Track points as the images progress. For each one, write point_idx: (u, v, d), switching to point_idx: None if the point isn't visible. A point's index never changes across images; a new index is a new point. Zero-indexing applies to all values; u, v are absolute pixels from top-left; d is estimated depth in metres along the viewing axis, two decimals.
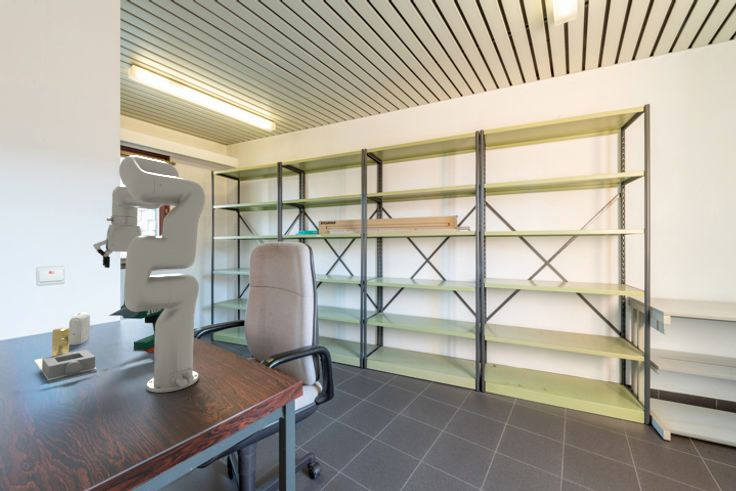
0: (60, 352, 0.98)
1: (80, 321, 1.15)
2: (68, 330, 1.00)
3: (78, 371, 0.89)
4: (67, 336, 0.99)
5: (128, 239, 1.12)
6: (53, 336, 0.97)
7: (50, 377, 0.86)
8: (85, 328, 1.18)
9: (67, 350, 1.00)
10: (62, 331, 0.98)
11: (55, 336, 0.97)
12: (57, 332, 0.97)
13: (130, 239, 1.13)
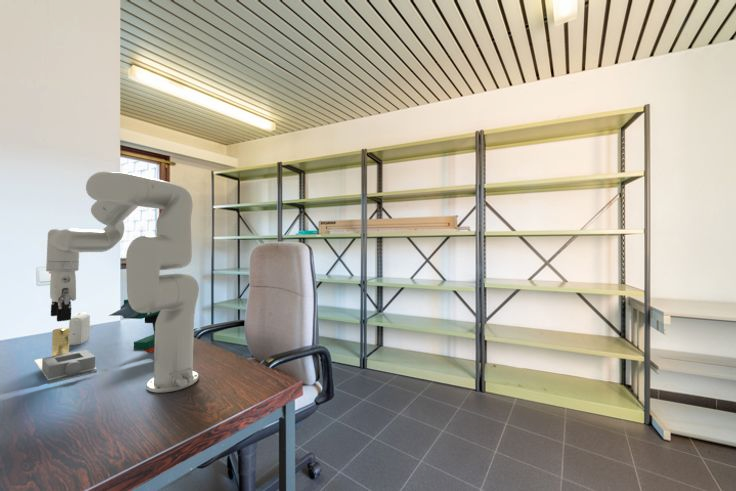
0: (60, 352, 0.98)
1: (80, 321, 1.15)
2: (68, 330, 1.00)
3: (78, 371, 0.89)
4: (67, 336, 0.99)
5: None
6: (53, 336, 0.97)
7: (50, 377, 0.86)
8: (85, 328, 1.18)
9: (67, 350, 1.00)
10: (62, 331, 0.98)
11: (55, 336, 0.97)
12: (57, 332, 0.97)
13: None
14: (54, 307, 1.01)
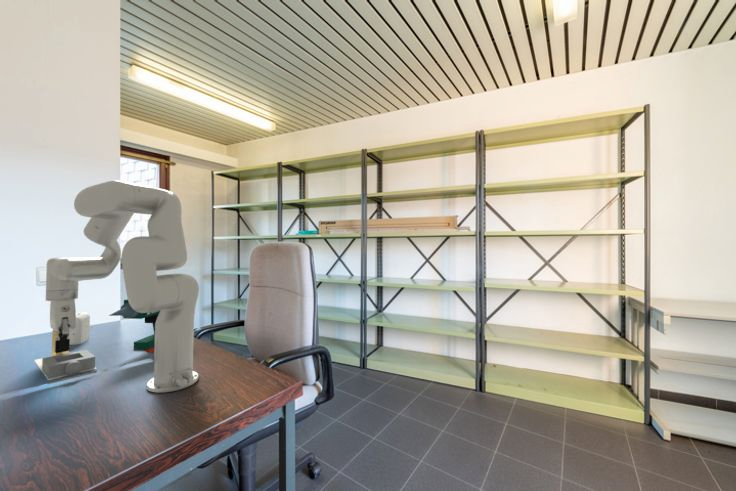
0: (60, 352, 0.98)
1: (80, 321, 1.15)
2: None
3: (78, 371, 0.89)
4: None
5: None
6: (53, 336, 0.97)
7: (50, 377, 0.86)
8: (85, 328, 1.18)
9: None
10: None
11: (55, 336, 0.97)
12: None
13: None
14: None
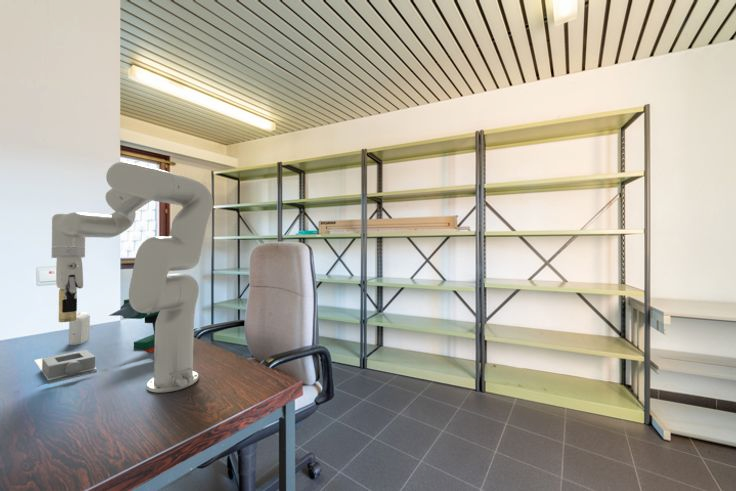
0: (67, 312, 0.94)
1: (80, 321, 1.15)
2: None
3: (78, 371, 0.89)
4: None
5: None
6: (60, 295, 0.93)
7: (50, 377, 0.86)
8: (85, 328, 1.18)
9: (74, 311, 0.95)
10: None
11: (62, 295, 0.93)
12: None
13: None
14: None
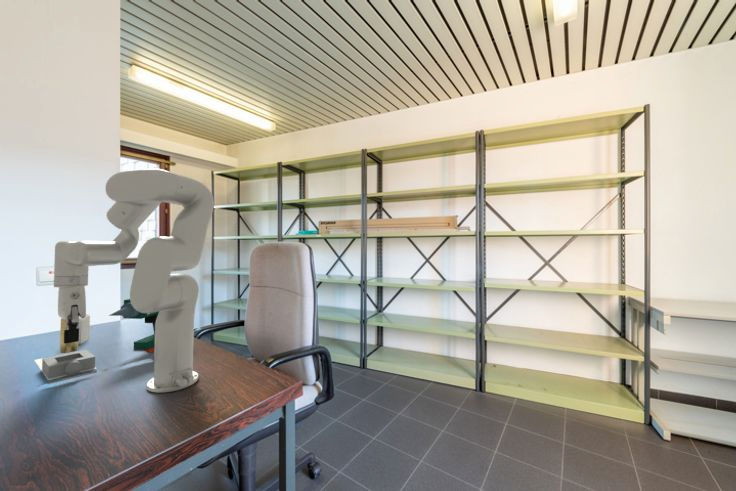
0: None
1: (80, 321, 1.15)
2: None
3: (78, 371, 0.89)
4: None
5: None
6: (61, 325, 0.90)
7: (50, 377, 0.86)
8: (85, 328, 1.18)
9: None
10: None
11: (63, 325, 0.90)
12: None
13: None
14: None
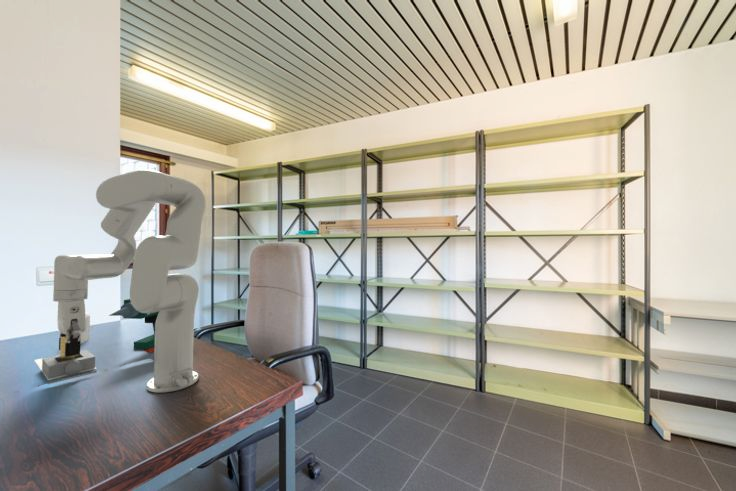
0: None
1: None
2: None
3: (78, 371, 0.89)
4: None
5: None
6: (61, 344, 0.90)
7: (50, 377, 0.86)
8: None
9: None
10: None
11: (63, 344, 0.90)
12: (66, 339, 0.90)
13: None
14: None
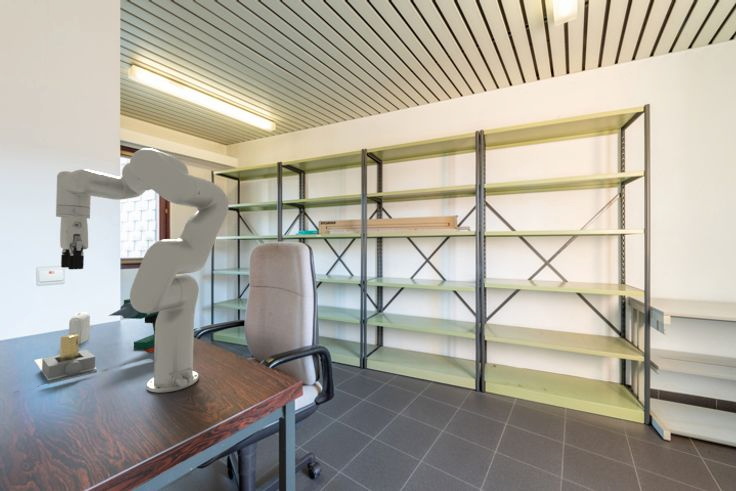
0: None
1: (80, 321, 1.15)
2: (77, 337, 0.93)
3: (78, 371, 0.89)
4: (76, 344, 0.92)
5: None
6: (61, 344, 0.90)
7: (50, 377, 0.86)
8: (85, 328, 1.18)
9: None
10: (71, 338, 0.91)
11: (63, 344, 0.90)
12: (66, 339, 0.90)
13: None
14: (65, 258, 0.94)
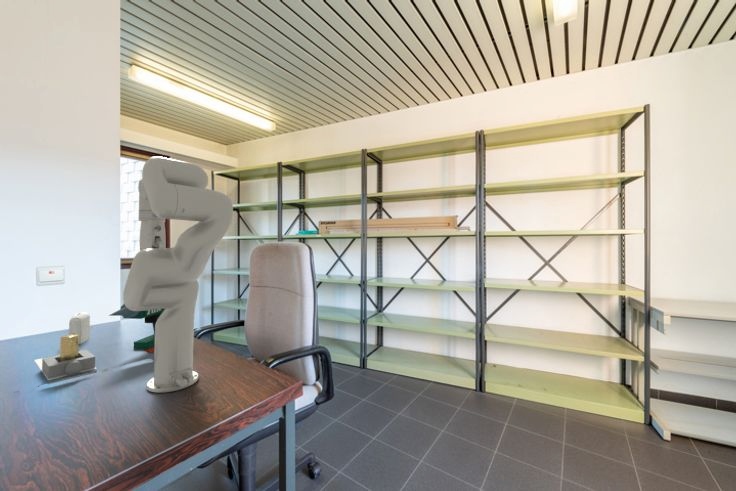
0: None
1: (80, 321, 1.15)
2: (77, 337, 0.93)
3: (78, 371, 0.89)
4: (76, 344, 0.92)
5: None
6: (61, 344, 0.90)
7: (50, 377, 0.86)
8: (85, 328, 1.18)
9: None
10: (71, 338, 0.91)
11: (63, 344, 0.90)
12: (65, 339, 0.90)
13: None
14: None
